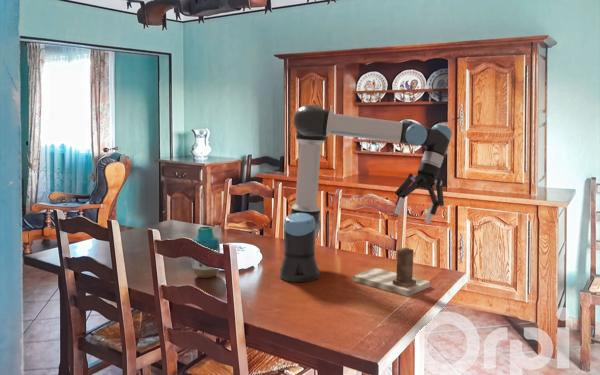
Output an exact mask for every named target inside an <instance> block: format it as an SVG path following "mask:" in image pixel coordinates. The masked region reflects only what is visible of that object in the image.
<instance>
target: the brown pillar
mask: <svg viewBox="0 0 600 375" xmlns="http://www.w3.org/2000/svg"><path fill="white" fill-rule="evenodd" d="M396 252H397V253H396V273H397V276H396V279H394V280H393V284H394V285H398V286H402V287H406V288H408V287H410V286H413V285H415V284H416V280H414V279H412V277H413V270H414V269H413V268H414V249H412V248H409V247H407V246H404V247H403V246H402V247H401V248H399V249H397V250H396Z"/></svg>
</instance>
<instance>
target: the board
mask: <svg viewBox="0 0 600 375" xmlns="http://www.w3.org/2000/svg"><path fill="white" fill-rule="evenodd" d="M396 276H397V272H394V271H390V270H387V269H386V270H385V269H382V268H378V267H374V268H371V269H368V270H366V271H363V272H360V273H356V274H354V275H353V276H352V281H353V282H354V283H355V282H356V283H359V284H362V285H366V286H369V287H370V286H371V287H374V288H377V289H380V290H384V291H388V292H391V293H395V294H398V295H400V296H401V295H402V296H405V297H410V296H413V295H416V294H417V293H419V292H422V291H424V290H426V289H428V288H430V287H431V281H429V280H426V279H422V278H417V277H413V276H412V279H414V280H416V284H415V285H413V286H410V287H408V288H406V287H402V286H398V285H394V284H393V280H394V279H396Z"/></svg>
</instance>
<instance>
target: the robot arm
mask: <svg viewBox="0 0 600 375" xmlns="http://www.w3.org/2000/svg"><path fill="white" fill-rule="evenodd" d="M293 125H294V128H295V131H296V134H295V139H296V141H297V142H298V144H299V145H298V146H299V147H298V158H297V159H298V162H297V172H296V173H297V174H296V175H297V176H296V189H295V190H296V192H295V203H294V204H293V205H292V206H291V208H290V209H291V210H290V214H288V215H287V216H286V217H285V218H284V221H283V229H284V230H283V243H284V244H283V248H284V250H283V259H282V263H281V267H280V269H279V278H280V279H281V280H283V281H286V282H291V283H308V282H312V281H316V280H318V279H319V278H320V268H319V267H318V263H317V260H316V253H315V252H316V247H315V246H316V238H317V235H318V233H319V232H320V230H321V216H320V215H321V207H319V205H318V194H319V193H318V192H319V180H320V179H319V178H320V166H321V153H322V145H323V144H324V143H325V142H326V138H328V137H329V136H331V135H334V136H340V137H341V136H342V137H350V138H358V139H365V140H374V141H381V142H382V141H383V142H391V143H397V144H403V145H411V146H414V147H415V146H416V147H418V146H420V147H422V148H423V147H424V148H425V150H424V151H423V152H424V153H423V155H422V158H421V160H420V161H421V163H420V164H419V166H418V169H417V174H416V175H414V174H413V173H409V174H408V176H407V178H406V179H405V180H404V182H402V183H401V185H400V186H399V187H397V189H396V191H395V192H394V194H395V195H396V196H397V199H396V202H395V205H396V207H395V210H394V212H393V213H394V214H395V215H397V216H400V215H401V212H402V209H403V206H404V203H405V201H406V197H407V196H408V195H410V194H411V193H413V192H414V191H415V190H417V189H421V190H426V191H428V194H429V196H430V199H431V202H432V203H431V204H430V205H429V208H428V211H427V214H426V216H425V219H424V222H426V223H427V224H431V222H432V220H433V219H432V218H433V216H435V215H436V214H437V210H438V208H439V207H444V206H445V202H444V201H445V200H444V192H443V191H444V190H443V184H444V181H443V180H442V179H441V178H438V176H439V173H440V168H442V164H443V162H444V158H445V156H446V154H447V150H448V147H449V145H450V142H451V138H452V135H453V130H452V129H451V128H449V127H448V126H446V125H442V124H435V125H433V126H432V127H429V126H425V125H422V124H420V123H417V122H415V121H412V120H408V119H403V120H402V121H396V120H387V119H380V118H379V119H378V118H371V117H363V116H356V115H355V116H354V115H348V114H339V113H334V112H333V111H332V110H330V109H324V108H323V107H321V106H320V105H316V104H307V105H302V106H301V107H299V108H298V109H296V112H295V113H294V116H293ZM434 185H435V186H436V188H435V189H436V193H435V189H434V187H433V186H434Z"/></svg>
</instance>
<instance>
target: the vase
mask: <svg viewBox="0 0 600 375" xmlns="http://www.w3.org/2000/svg"><path fill="white" fill-rule="evenodd" d="M213 229H214V228H213V226H210V225H204V226H203V225H202V226H198V228H197V236H196V237H194V238H193V240H194V241H196V242H197V243H199V244H201V245H203V246H205V247H208V248H210V249H213V250H216V251H218V252H220V253H221V247H220V240H219V238H218V237H216V236H215V235H214V231H213ZM191 266H192V272H193V273H194V275H195V276H197V277H198V278H200V279H201V278H203V279H208V278H213V277H215V276H217V274H218V273H219V271H220V268H219V269H214V268H210V267H207V266H205V265H203V264H201V263H199V262H198V261H196V260H194V259H192V258H191Z"/></svg>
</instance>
